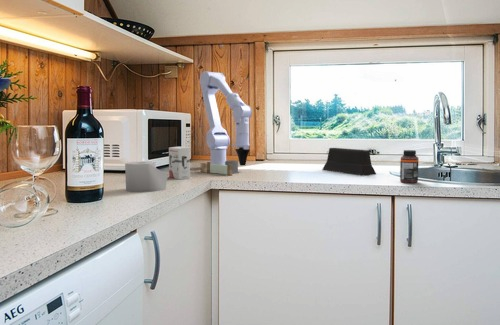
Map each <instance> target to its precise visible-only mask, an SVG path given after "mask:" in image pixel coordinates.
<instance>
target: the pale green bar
mask: <svg viewBox="0 0 500 325" xmlns="http://www.w3.org/2000/svg"><path fill="white" fill-rule="evenodd" d="M210 172H211V173H213V174H222V175H227V165H218V164H210Z"/></svg>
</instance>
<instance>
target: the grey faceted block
mask: <svg viewBox="0 0 500 325" xmlns="http://www.w3.org/2000/svg"><path fill="white" fill-rule="evenodd" d="M227 164H232V175H234V174H238V173H239V160H238V161H237V160H226V161H225V165H227Z"/></svg>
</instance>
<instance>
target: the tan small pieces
mask: <svg viewBox="0 0 500 325" xmlns="http://www.w3.org/2000/svg"><path fill="white" fill-rule="evenodd" d="M210 164H211V161H207V162H200V165H199V167H200V173H207V174H210V173H212V172H210ZM226 176H228V177H230V176H233V174H232V164H227V174H226Z"/></svg>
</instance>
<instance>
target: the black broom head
mask: <svg viewBox="0 0 500 325" xmlns="http://www.w3.org/2000/svg"><path fill="white" fill-rule="evenodd" d="M321 170H322V171H327V172H333V173H342V174H349V175H354V176H355V175H356V176H371V175H377V172H376V170H375V168H374V167H373V165H372V160H371V154H370V150H368V149H356V148H346V147H345V148H344V147H343V148H342V147H330V148H329V149H328V153H327V159H326V162H325V163H324V166H323V167H322V169H321Z"/></svg>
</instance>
